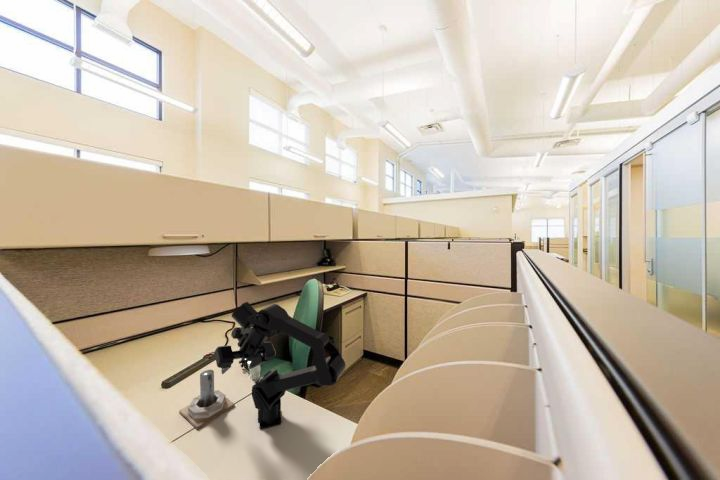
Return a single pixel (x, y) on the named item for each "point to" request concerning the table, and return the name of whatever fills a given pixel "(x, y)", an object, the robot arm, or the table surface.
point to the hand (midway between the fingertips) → (236, 370)
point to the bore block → (206, 410)
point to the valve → (254, 371)
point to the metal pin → (207, 388)
